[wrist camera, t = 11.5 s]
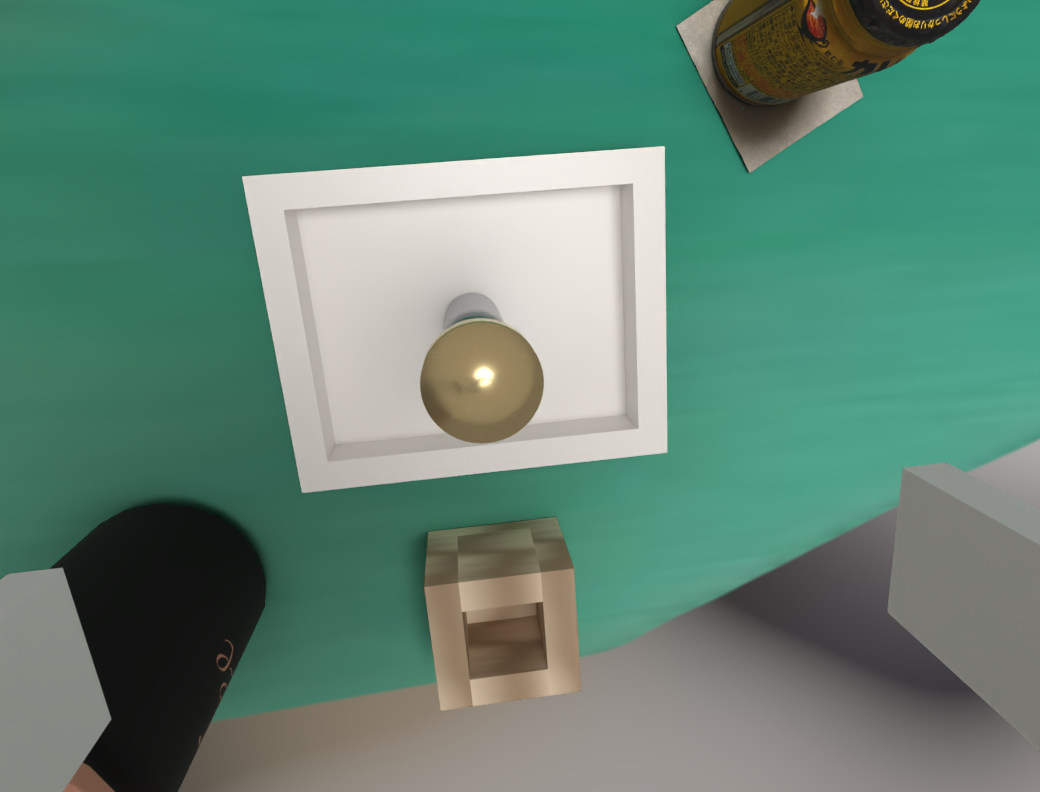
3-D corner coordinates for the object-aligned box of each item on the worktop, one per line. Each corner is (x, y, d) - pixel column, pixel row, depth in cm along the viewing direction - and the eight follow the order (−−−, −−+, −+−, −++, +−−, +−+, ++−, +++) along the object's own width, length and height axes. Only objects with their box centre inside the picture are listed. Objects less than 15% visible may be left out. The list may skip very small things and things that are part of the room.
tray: (315, 467, 37) (302, 492, 34) (263, 180, 32) (242, 176, 29) (648, 431, 39) (667, 452, 35) (643, 152, 34) (664, 146, 31)
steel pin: (439, 359, 35) (427, 449, 21) (431, 286, 34) (412, 329, 20) (511, 352, 35) (547, 437, 21) (505, 279, 34) (539, 318, 20)
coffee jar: (179, 680, 40) (-26, 1032, 23) (43, 566, 37) (-309, 873, 20) (309, 584, 39) (198, 876, 22) (181, 459, 36) (-64, 684, 19)
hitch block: (442, 641, 41) (440, 710, 36) (428, 531, 39) (424, 587, 33) (563, 625, 42) (581, 691, 36) (556, 516, 40) (574, 568, 34)
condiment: (796, -58, 32) (988, -208, 21) (861, 97, 35) (1065, 39, 23) (674, 27, 33) (795, -74, 21) (746, 173, 35) (890, 154, 24)
